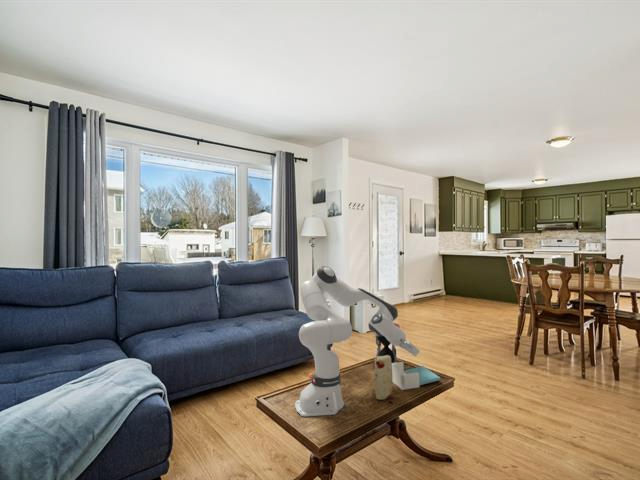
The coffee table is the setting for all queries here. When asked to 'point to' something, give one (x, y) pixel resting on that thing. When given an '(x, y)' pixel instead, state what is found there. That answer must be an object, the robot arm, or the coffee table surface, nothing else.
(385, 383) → the food model
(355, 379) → the coffee table surface
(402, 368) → the white open box
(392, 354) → the hourglass
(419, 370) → the box lid
